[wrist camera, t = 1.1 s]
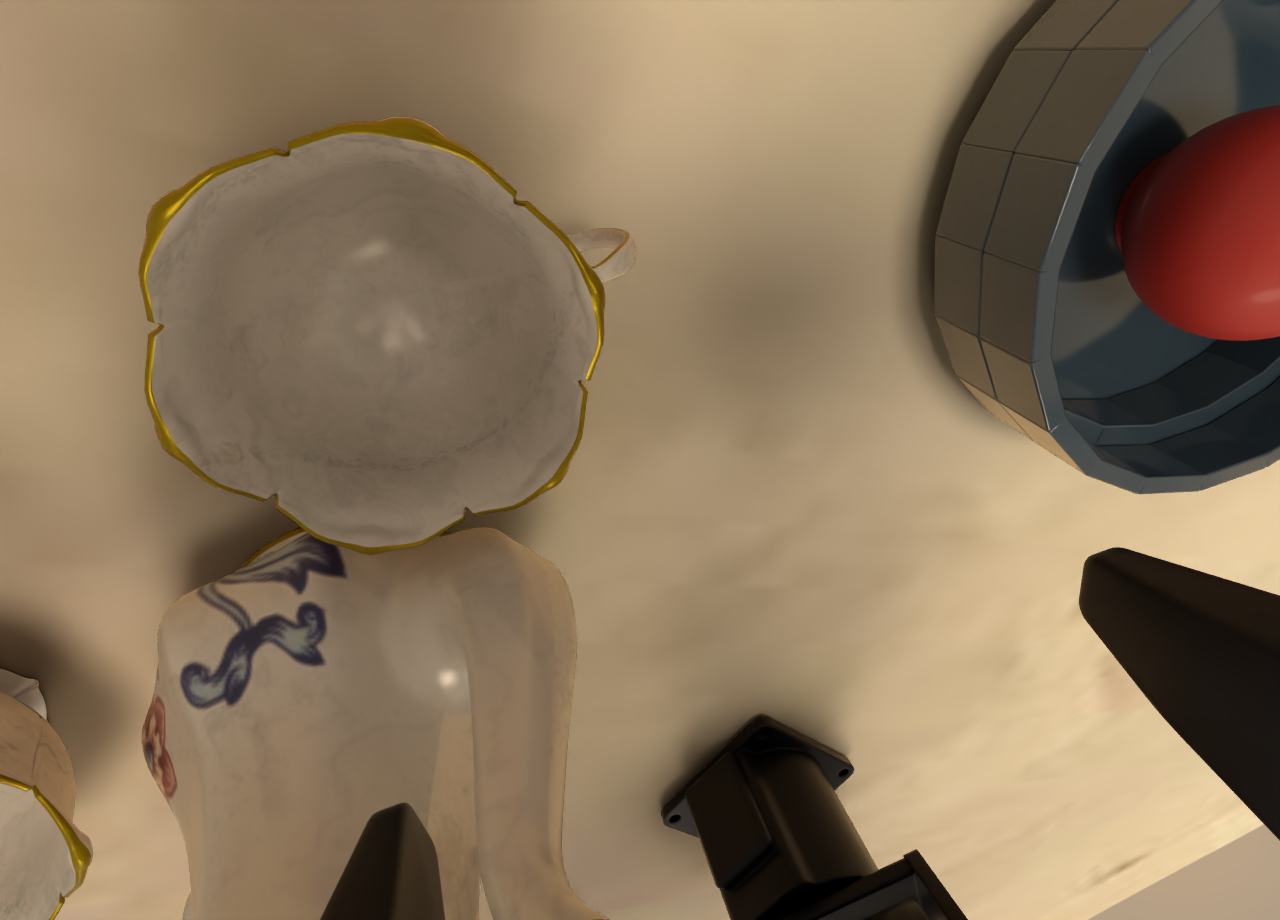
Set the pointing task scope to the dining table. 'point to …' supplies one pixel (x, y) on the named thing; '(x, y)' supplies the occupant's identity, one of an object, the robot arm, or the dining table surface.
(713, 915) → the dining table surface
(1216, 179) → the apple
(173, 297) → the chinaware
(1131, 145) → the bowl
